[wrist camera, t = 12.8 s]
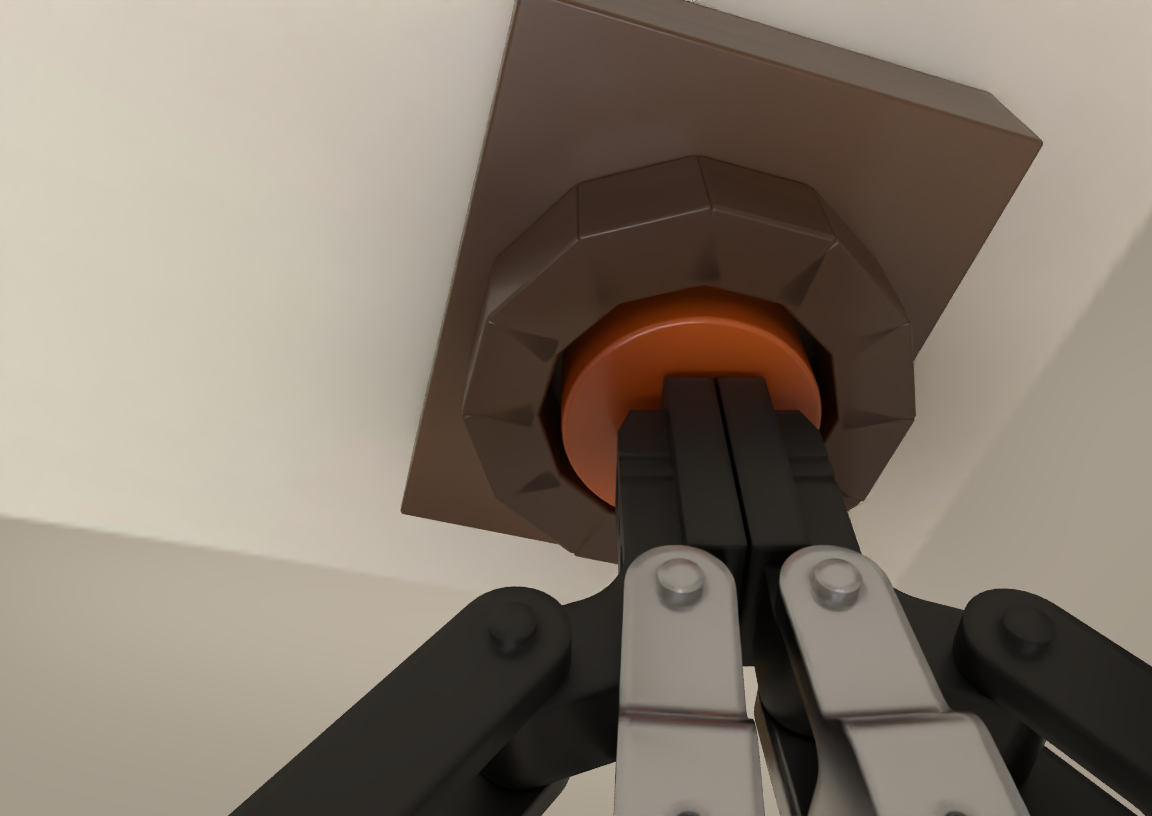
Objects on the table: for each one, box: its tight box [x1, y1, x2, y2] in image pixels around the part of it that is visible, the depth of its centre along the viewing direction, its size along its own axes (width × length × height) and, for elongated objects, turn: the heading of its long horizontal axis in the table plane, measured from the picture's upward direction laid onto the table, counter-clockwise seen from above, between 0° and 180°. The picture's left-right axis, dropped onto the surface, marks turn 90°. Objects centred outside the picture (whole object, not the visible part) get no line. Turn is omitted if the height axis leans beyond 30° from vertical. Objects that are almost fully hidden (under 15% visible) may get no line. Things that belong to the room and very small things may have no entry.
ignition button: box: [561, 285, 822, 507], centre depth 15 cm, size 4×4×2 cm
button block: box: [401, 0, 1043, 564], centre depth 16 cm, size 10×8×4 cm
